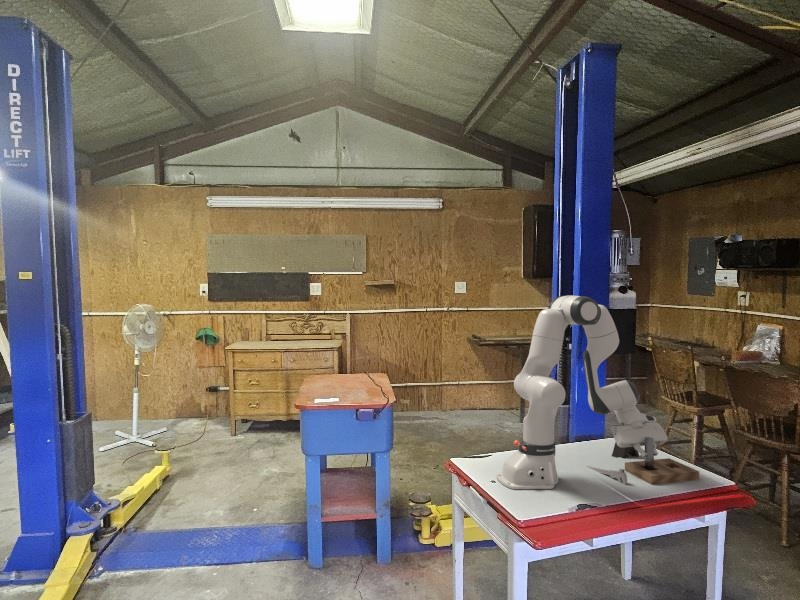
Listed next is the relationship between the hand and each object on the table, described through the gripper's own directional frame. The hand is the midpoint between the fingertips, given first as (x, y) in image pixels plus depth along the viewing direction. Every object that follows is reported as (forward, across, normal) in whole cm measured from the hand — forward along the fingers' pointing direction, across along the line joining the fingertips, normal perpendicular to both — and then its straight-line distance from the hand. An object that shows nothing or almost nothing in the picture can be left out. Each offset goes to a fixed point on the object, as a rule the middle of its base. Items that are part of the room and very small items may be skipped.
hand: (650, 455), depth 174 cm
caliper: (+2, -15, +11) cm, 19 cm away
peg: (+5, 0, +6) cm, 8 cm away
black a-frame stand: (-10, +7, +22) cm, 25 cm away
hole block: (+6, +5, +7) cm, 10 cm away
